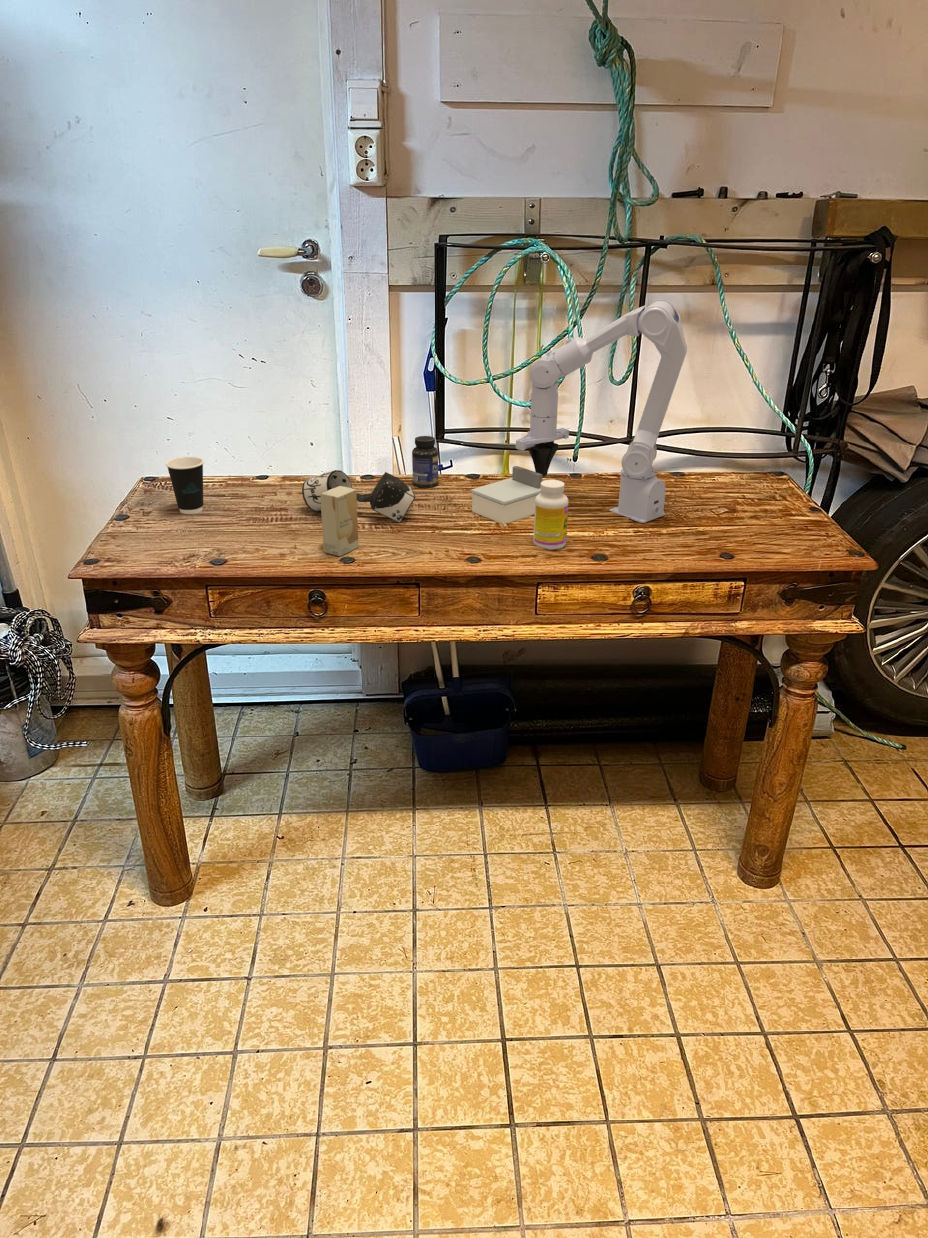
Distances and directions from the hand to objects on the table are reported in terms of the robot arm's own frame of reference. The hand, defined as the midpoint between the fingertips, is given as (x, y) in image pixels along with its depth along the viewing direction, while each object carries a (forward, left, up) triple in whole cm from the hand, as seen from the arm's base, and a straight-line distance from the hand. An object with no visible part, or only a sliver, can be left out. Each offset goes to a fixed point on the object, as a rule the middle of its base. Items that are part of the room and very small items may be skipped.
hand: (541, 475), depth 209 cm
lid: (0, +10, -1) cm, 10 cm away
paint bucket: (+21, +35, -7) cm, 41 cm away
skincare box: (+7, +49, -7) cm, 50 cm away
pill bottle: (+27, +11, -7) cm, 30 cm away
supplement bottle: (-18, +16, -7) cm, 25 cm away
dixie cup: (+47, +61, -7) cm, 77 cm away
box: (0, +10, -6) cm, 12 cm away
